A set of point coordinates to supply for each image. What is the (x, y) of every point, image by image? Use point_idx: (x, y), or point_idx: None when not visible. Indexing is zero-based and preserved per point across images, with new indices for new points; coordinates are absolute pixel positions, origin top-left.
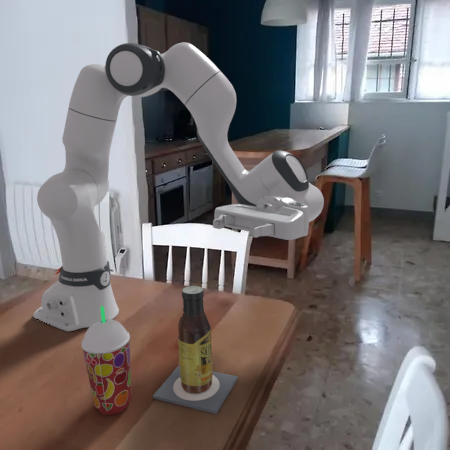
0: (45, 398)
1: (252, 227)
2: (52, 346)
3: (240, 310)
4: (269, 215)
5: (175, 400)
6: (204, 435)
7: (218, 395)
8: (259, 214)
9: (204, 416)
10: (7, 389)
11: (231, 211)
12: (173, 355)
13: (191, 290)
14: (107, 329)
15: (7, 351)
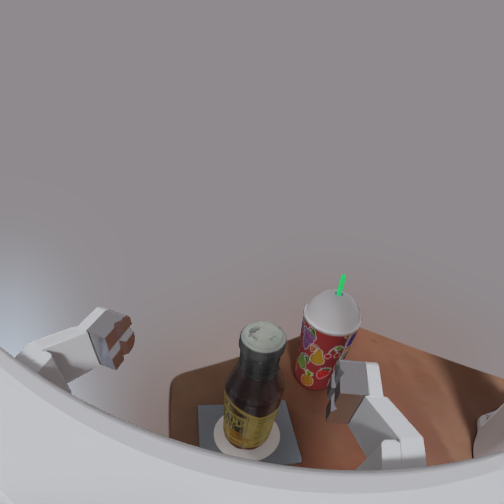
0: (374, 356)
1: (112, 316)
2: (457, 397)
3: None
4: (9, 436)
5: None
6: (196, 380)
7: (208, 428)
8: (79, 466)
9: (209, 400)
10: (409, 347)
11: (383, 482)
12: None
13: (262, 331)
14: (323, 292)
15: (469, 369)
